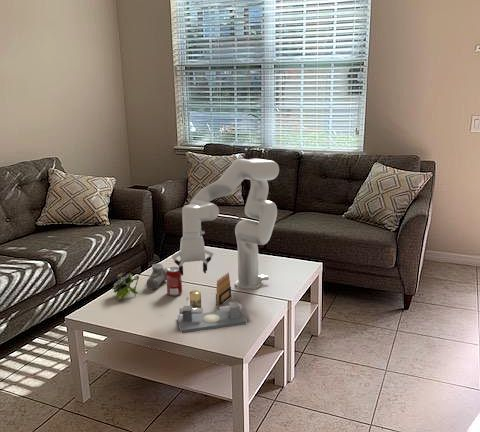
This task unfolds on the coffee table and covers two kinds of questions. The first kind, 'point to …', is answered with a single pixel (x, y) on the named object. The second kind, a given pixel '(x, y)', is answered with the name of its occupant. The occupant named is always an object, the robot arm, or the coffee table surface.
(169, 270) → the soda can
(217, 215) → the robot arm
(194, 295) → the tan rounded cylinder
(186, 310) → the grey block on rod
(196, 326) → the shaft rig
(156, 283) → the pipe fitting
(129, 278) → the passion flower
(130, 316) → the coffee table surface
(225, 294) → the ammunition clip
